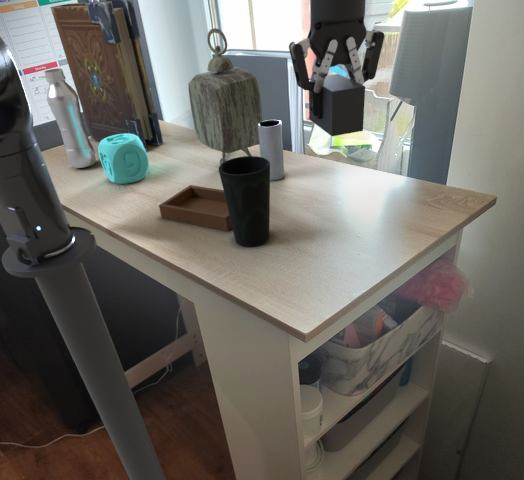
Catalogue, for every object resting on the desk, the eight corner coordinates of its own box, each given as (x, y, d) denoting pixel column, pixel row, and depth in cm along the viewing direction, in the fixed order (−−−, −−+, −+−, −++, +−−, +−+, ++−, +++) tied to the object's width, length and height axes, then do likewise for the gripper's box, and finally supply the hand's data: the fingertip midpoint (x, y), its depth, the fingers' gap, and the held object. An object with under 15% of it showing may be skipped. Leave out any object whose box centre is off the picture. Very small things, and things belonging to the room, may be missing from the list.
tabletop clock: (266, 165, 102) (254, 27, 86) (230, 177, 99) (212, 35, 82) (231, 150, 112) (215, 23, 95) (198, 160, 108) (175, 30, 92)
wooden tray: (227, 231, 80) (225, 217, 79) (161, 218, 87) (158, 205, 85) (256, 208, 86) (255, 194, 85) (192, 197, 93) (190, 184, 91)
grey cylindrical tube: (259, 180, 96) (254, 126, 89) (266, 171, 99) (262, 119, 93) (280, 181, 95) (277, 127, 88) (287, 172, 98) (284, 119, 91)
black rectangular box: (363, 130, 71) (366, 86, 67) (331, 136, 70) (332, 91, 66) (338, 114, 78) (339, 73, 74) (309, 119, 78) (308, 78, 74)
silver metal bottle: (77, 161, 115) (45, 68, 102) (103, 160, 114) (74, 66, 101) (65, 171, 110) (30, 74, 97) (92, 170, 109) (60, 72, 96)
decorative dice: (138, 167, 108) (129, 130, 103) (152, 176, 103) (143, 138, 98) (105, 177, 105) (93, 140, 100) (118, 187, 100) (106, 148, 95)
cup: (239, 255, 74) (229, 179, 66) (222, 235, 79) (211, 163, 71) (283, 242, 76) (278, 167, 68) (264, 223, 81) (257, 152, 73)
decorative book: (163, 143, 120) (132, -3, 100) (141, 152, 116) (104, 2, 96) (108, 132, 132) (70, -1, 112) (87, 140, 128) (44, 4, 109)
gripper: (294, -16, 58) (299, 129, 70) (401, -30, 61) (389, 113, 72) (277, -18, 64) (284, 116, 75) (375, -31, 66) (368, 102, 77)
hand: (335, 114), depth 73 cm, fingers closed on black rectangular box, 5 cm apart
